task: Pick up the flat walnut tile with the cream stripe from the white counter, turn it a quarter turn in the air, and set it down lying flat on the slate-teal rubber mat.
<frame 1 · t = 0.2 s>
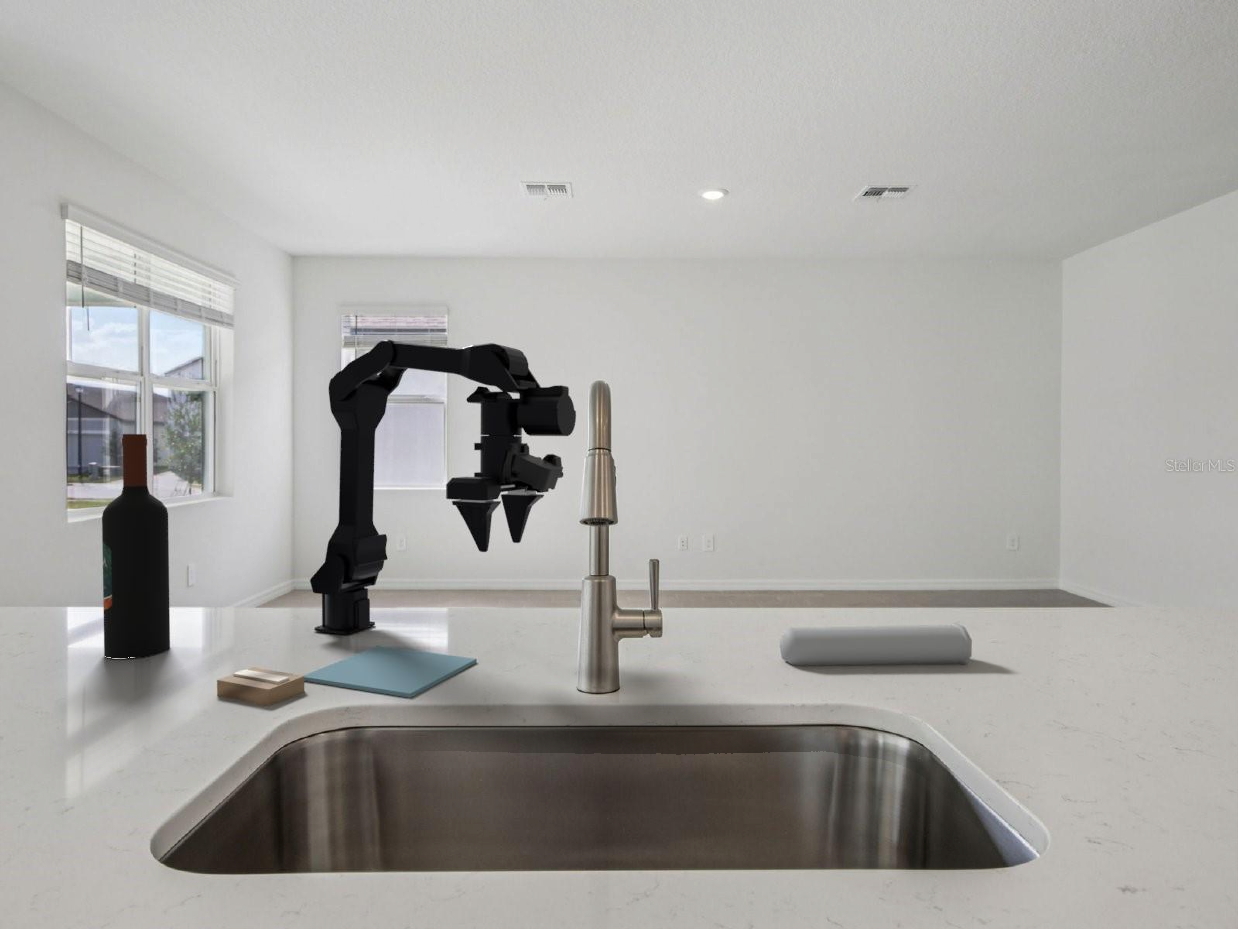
hand: (500, 547, 100), 14 cm above the worktop, tool pointing down, fingers open, 9 cm apart
tube: (871, 664, 96), on the worktop
mat: (392, 671, 90), on the worktop
wine bottle: (137, 652, 98), on the worktop
tile: (261, 696, 82), on the worktop
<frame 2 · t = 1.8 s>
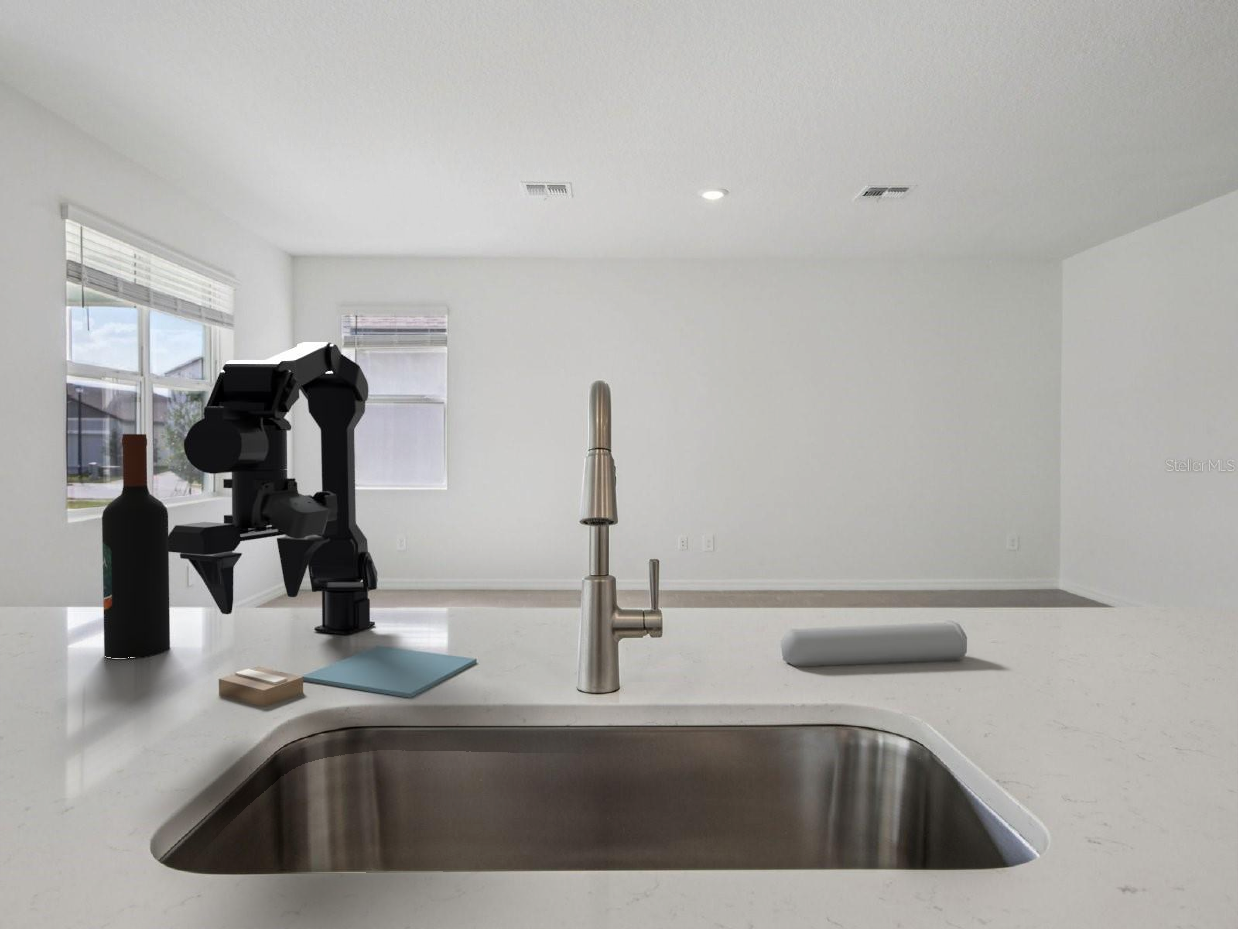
hand: (261, 604, 82), 10 cm above the worktop, tool pointing down, fingers open, 9 cm apart
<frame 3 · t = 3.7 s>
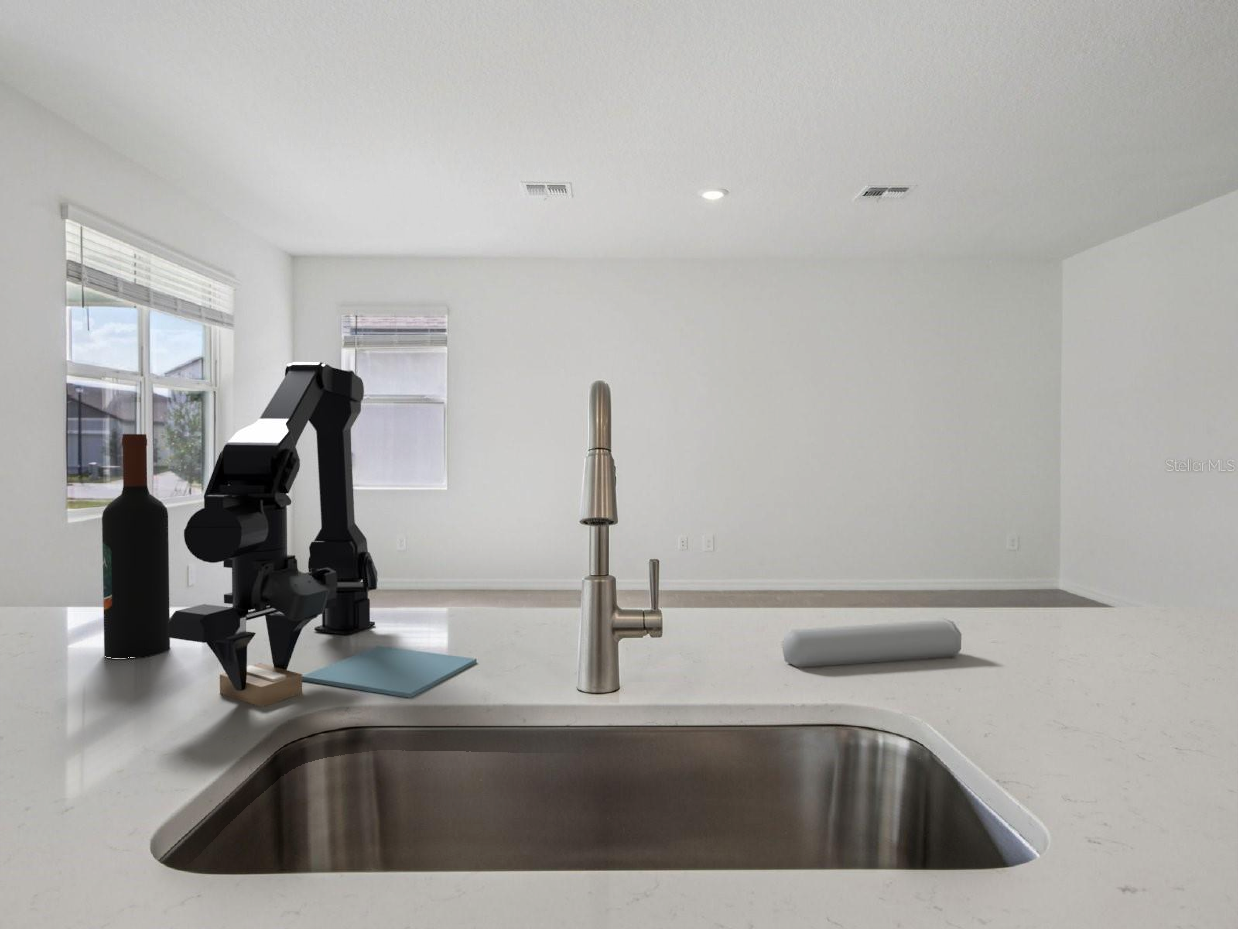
hand: (261, 682, 82), 1 cm above the worktop, tool pointing down, fingers closed on tile, 5 cm apart
tile: (261, 693, 82), on the worktop, touching gripper
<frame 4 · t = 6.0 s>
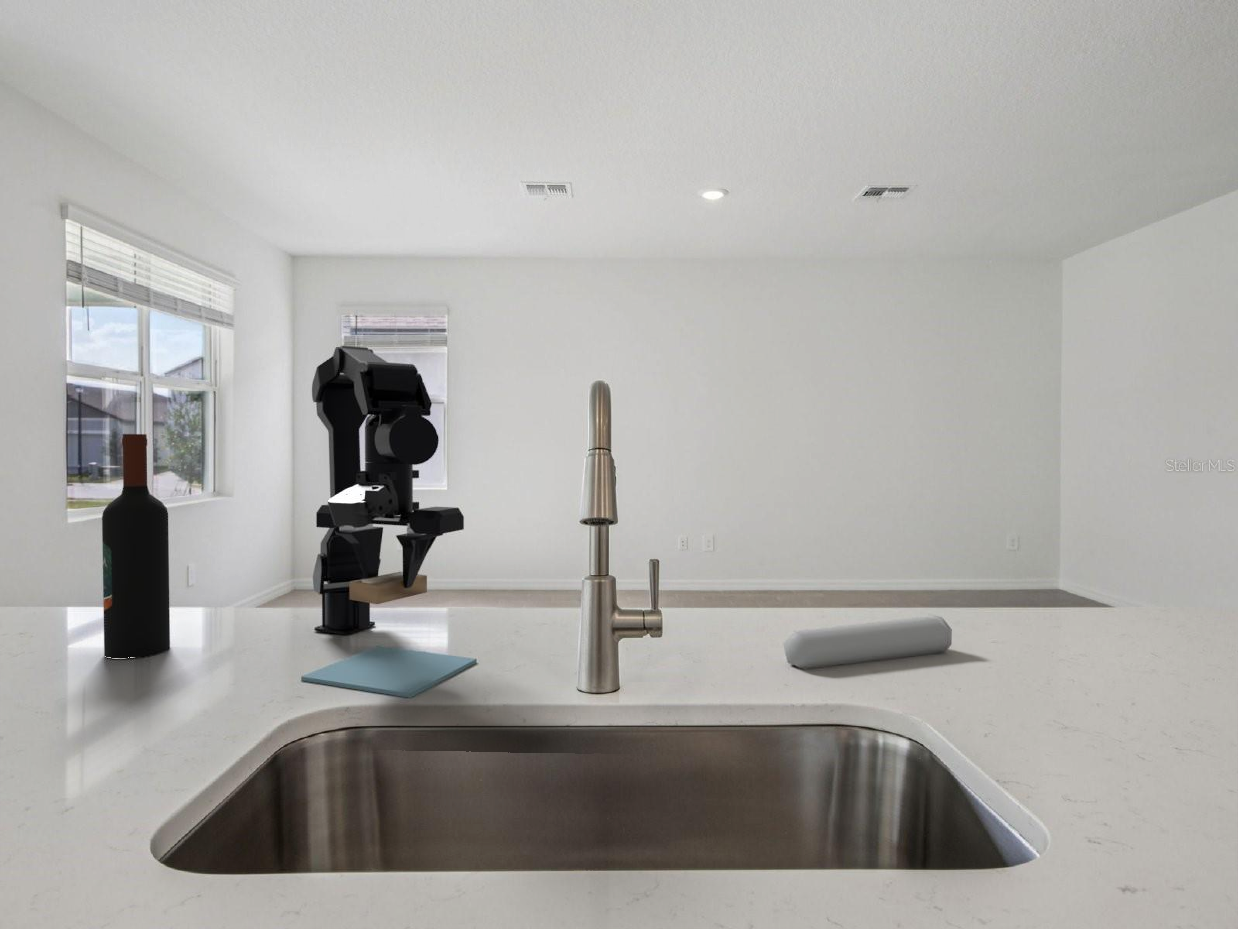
hand: (389, 585, 90), 11 cm above the worktop, tool pointing down, fingers closed on tile, 5 cm apart
tile: (389, 595, 90), point 10 cm above the worktop, touching gripper
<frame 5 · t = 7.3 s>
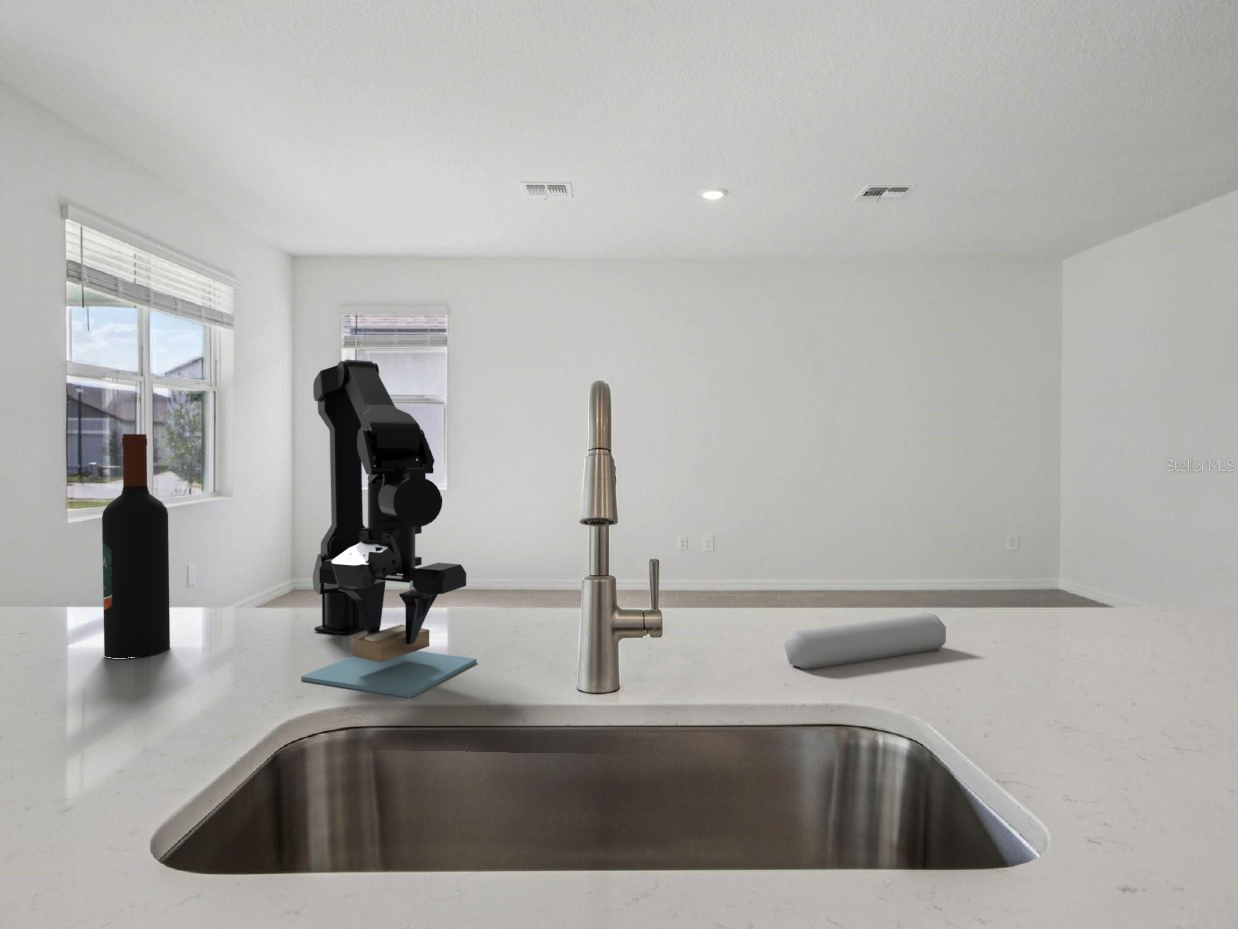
hand: (392, 641, 90), 4 cm above the worktop, tool pointing down, fingers closed on tile, 5 cm apart
tile: (391, 651, 90), point 3 cm above the worktop, touching gripper
when the fingers open (3 cm above the worktop, at t = 8.3 s): tile drops 1 cm, resting on mat.
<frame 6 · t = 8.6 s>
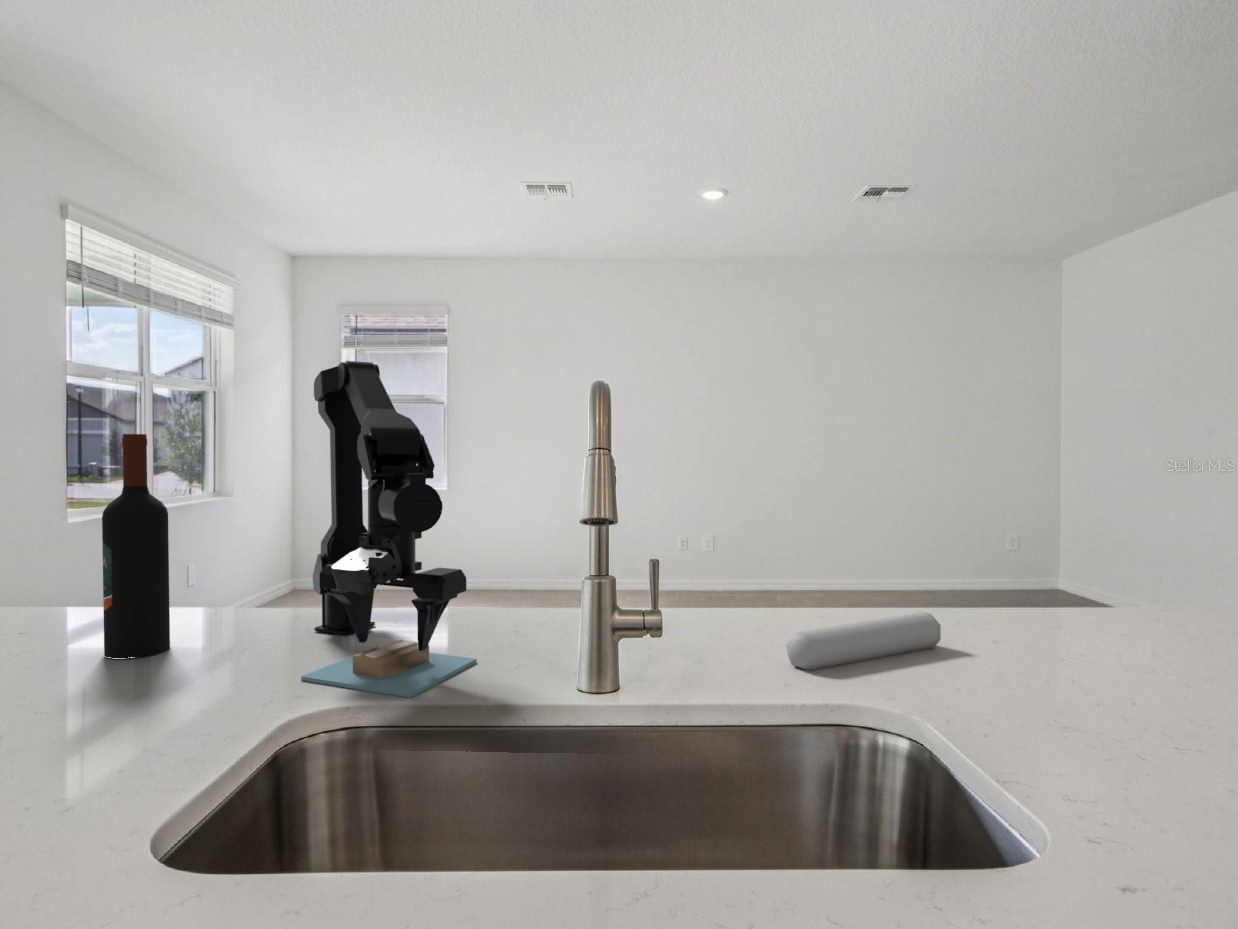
hand: (392, 646, 90), 3 cm above the worktop, tool pointing down, fingers open, 9 cm apart
tile: (391, 667, 90), resting on mat
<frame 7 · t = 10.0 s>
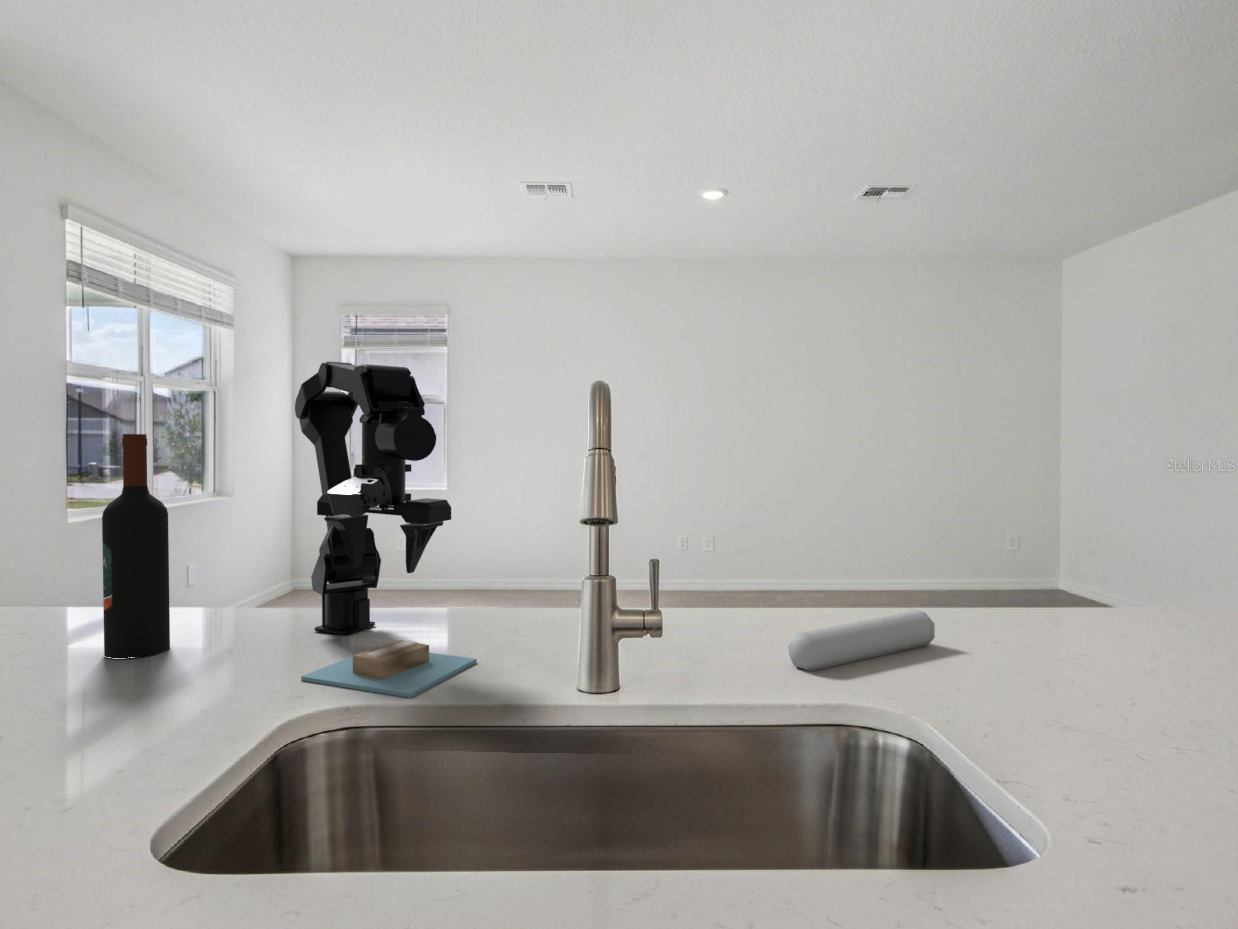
hand: (383, 569, 98), 11 cm above the worktop, tool pointing down, fingers open, 9 cm apart
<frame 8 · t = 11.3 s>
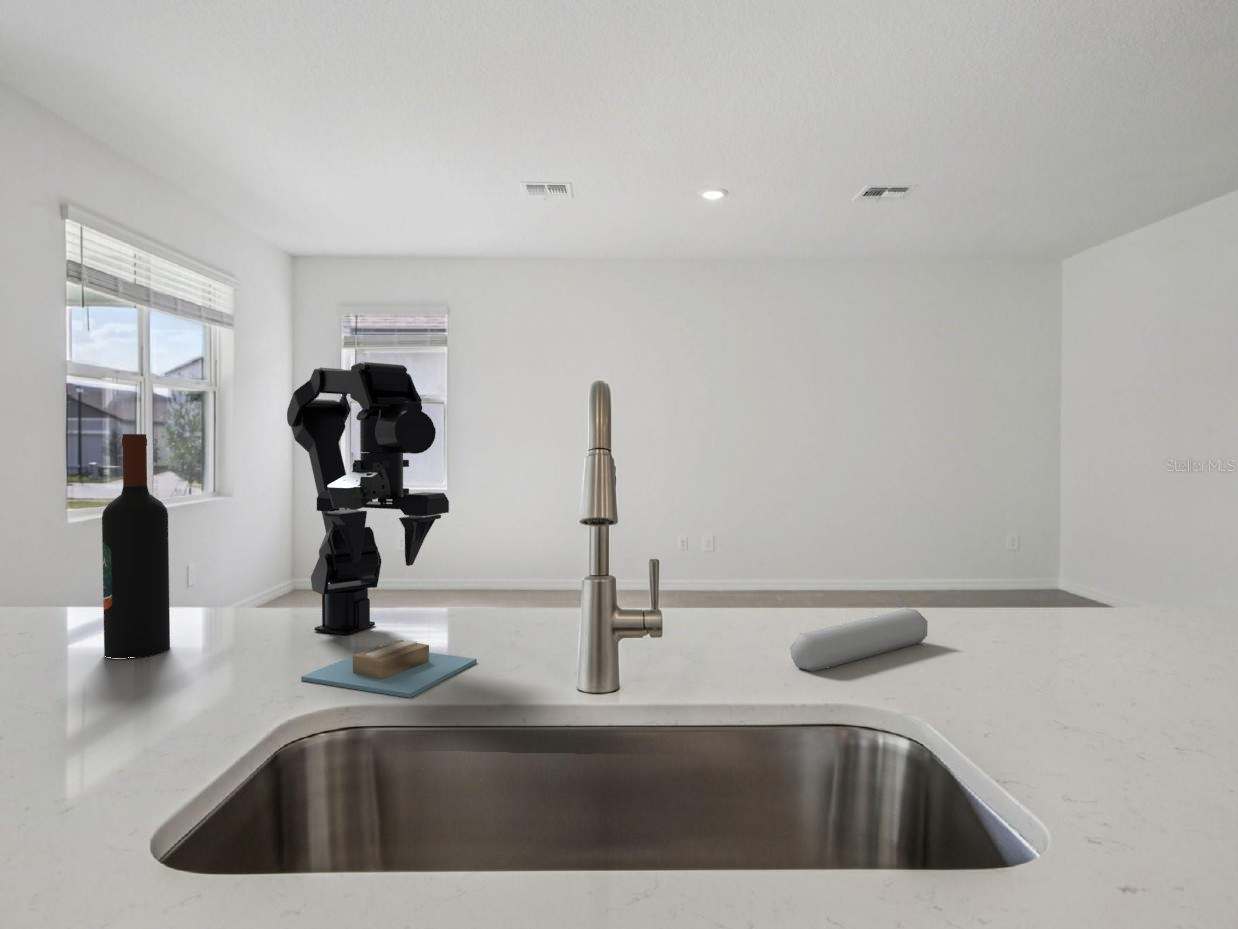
hand: (382, 563, 100), 12 cm above the worktop, tool pointing down, fingers open, 9 cm apart
at the end: tile inside the target area on the mat (0.1 cm from its centre), point 0.5 cm above the mat's base; tile tilted 0°; the gripper is holding nothing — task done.
